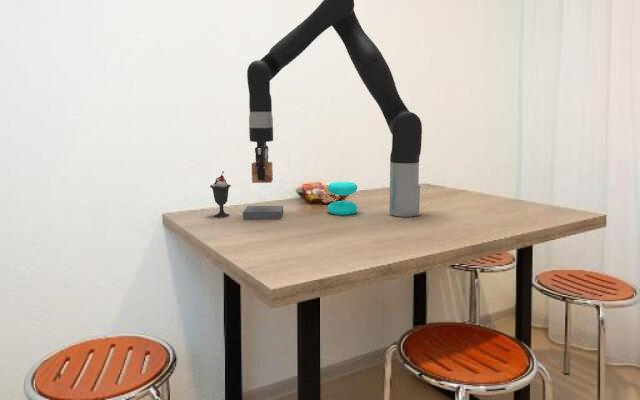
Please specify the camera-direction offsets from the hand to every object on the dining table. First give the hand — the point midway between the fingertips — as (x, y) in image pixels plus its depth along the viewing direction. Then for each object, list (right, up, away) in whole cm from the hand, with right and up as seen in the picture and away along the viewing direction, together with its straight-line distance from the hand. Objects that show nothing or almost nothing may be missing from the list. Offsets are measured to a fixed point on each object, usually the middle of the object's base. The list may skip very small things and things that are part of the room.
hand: (262, 178), depth 157 cm
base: (0, -13, +2) cm, 13 cm away
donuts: (+26, -11, +7) cm, 29 cm away
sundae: (-14, -12, +4) cm, 19 cm away
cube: (0, -1, 0) cm, 1 cm away
